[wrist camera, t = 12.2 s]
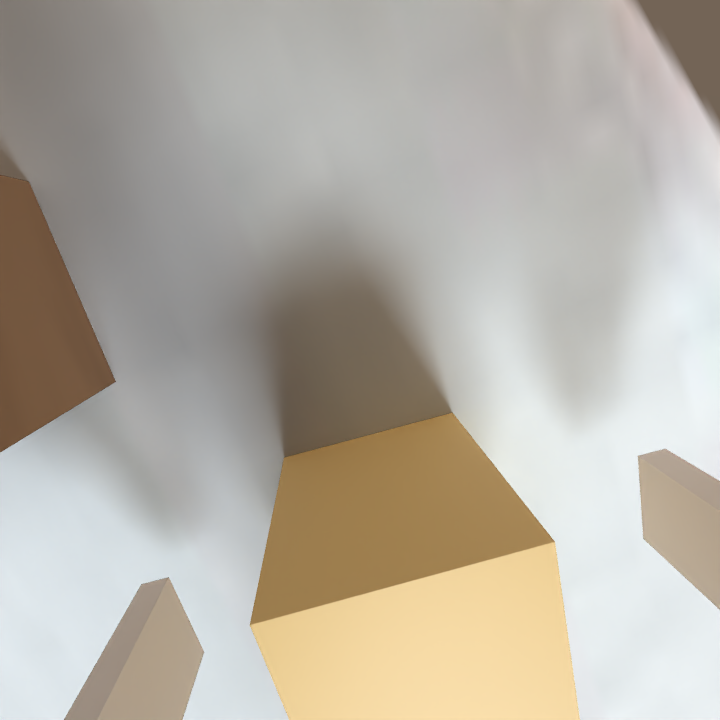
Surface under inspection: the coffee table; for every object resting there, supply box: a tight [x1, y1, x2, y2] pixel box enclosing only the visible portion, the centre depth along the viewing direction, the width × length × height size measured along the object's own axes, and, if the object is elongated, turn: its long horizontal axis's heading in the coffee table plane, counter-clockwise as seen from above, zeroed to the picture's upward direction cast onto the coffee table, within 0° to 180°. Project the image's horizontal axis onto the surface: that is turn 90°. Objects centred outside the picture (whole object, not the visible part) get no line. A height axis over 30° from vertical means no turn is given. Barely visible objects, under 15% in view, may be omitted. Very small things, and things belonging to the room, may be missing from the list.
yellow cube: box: [250, 413, 580, 720], centre depth 11 cm, size 6×6×6 cm
